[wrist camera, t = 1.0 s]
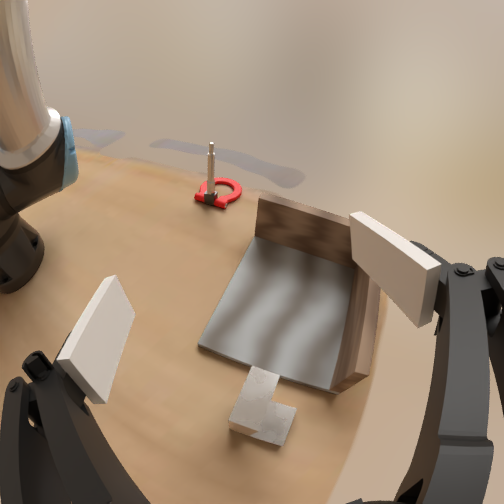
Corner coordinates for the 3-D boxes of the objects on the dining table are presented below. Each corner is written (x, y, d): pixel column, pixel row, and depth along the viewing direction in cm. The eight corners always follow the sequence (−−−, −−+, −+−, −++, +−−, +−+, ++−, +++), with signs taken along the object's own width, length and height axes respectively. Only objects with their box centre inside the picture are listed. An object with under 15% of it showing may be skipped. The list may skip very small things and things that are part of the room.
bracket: (229, 429, 26) (228, 420, 17) (244, 393, 30) (252, 365, 21) (281, 446, 25) (307, 445, 16) (294, 409, 28) (326, 389, 19)
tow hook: (212, 178, 58) (190, 200, 52) (213, 124, 49) (187, 140, 43) (247, 188, 57) (228, 212, 51) (253, 132, 47) (232, 149, 41)
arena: (198, 346, 33) (189, 313, 26) (257, 234, 47) (262, 192, 40) (337, 394, 30) (368, 375, 23) (362, 268, 44) (382, 231, 37)
